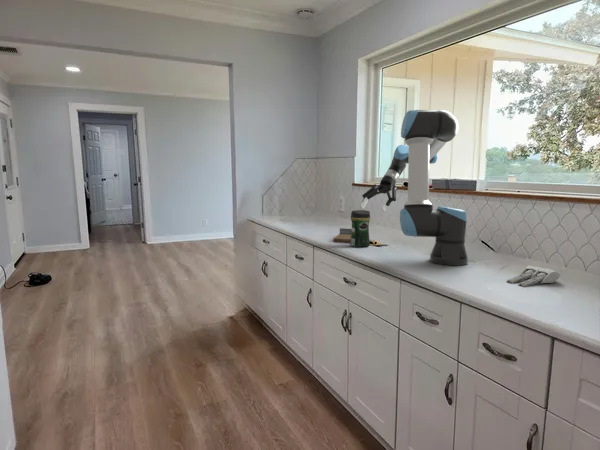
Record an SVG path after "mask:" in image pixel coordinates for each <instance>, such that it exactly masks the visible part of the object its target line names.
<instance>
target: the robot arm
mask: <svg viewBox="0 0 600 450" xmlns="http://www.w3.org/2000/svg"><path fill="white" fill-rule="evenodd" d="M458 131H459V122H458V120H457V118H456V117H455V116H454V114H452V113H451V112H449V111H447V110H444V109H436V110H435V109H412V110H411V109H410V110H408V111H406V112H405V114H404V117H403V119H402V123H401V129H400V137H401V138H402V139H404V143H405V144H406V145H405V144H400V145H398V146H397V147H396V148H395V150H394V152H393V156H392V159H391V163H390V165H389V167H388V169H387V171H386V172H385V173H384V175H383V177H382V179H381V180H380V182H379V183H380V184H378V185H377V184H375V183H374V184H373V185H372V187H370V188H369V189H368V190H367V191H365V193H363V194H362V195H361V196H362V198H363V199H362V201H361V203H360V206H359V207H360V210H365V208H366V205H367V204H368V203H369V200H370V199H371V198H373V197H375V196H376V195H380V194H384V195H385V194H386V196H387V198H386V199H385V201H384V202H383V204H382V205H381V207H380V209H381V211H382V212H383V213H384V212H386V210H387V208H388V207H390V206H391V203H392V202H396V201H397V190H398V188H397V186H396V183H397V182H398V180H399V179H400V177H401V175H402V173H403V172H404V170H405V169H406V167H407V166H408V167H407V168H408V170H407V172H408V173H407V202H405V203H404V206H403V208H401V209H400V212H399V224H400V229H401V231H402V233H403V235H404V236H406V237H414V238H416V237H421V238H422V237H423V238H424V237H425V238H428V237H429V238H435V242H434V244H433V247H432V250H431V253H430V254H429V255H430V256H429V260H430V262H432V263H436V264H439V265H440V264H441V265H447V266H465V265H468V263H469V257H468V252H467V249H466V245H465V243H466V242H465V241H466V230H467V222H468V220H467V216H468V215H467V212H466V211H465V210H464V209H461V208H460V209H459V208H454V207H448V206H441V205H438V206H437V208H436V209H433V208H434V206H433V203H432V202H431V201H430V165H431V164H435V163H437V160H438V156H439V155H438V153H439V152H440V151H441V149H442V148H443V147H444V146H445V145H446V144H447V143H448V142H451V141H452V140H453V139H454V138H455V137H456V135H457V134H458ZM390 192H391V193H390Z"/></svg>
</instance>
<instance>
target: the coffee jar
mask: <svg viewBox="0 0 600 450" xmlns="http://www.w3.org/2000/svg"><path fill="white" fill-rule="evenodd" d="M370 220H371V212H370V210H367V209H366V210H365V209H360V210H359V209H358V210H355V209H354V210H352V211H351V214H350V221H351V229H352V230H351V238H350V243H349V246H350V247H352V248H353V247H354V248H368V247H369V246H370V232H369V231H370V230H369V229H370V228H369V227H370V225H369V224H370Z"/></svg>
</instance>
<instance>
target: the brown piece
mask: <svg viewBox="0 0 600 450" xmlns="http://www.w3.org/2000/svg"><path fill="white" fill-rule="evenodd" d="M351 230H352V228H345V227H344V228H343V227H342V228H341V227H340V228H339V233H338V234H337V235H336V236H335V237H333V241H332V242H333V243H340V244H342V243H343V244H350V238H351Z"/></svg>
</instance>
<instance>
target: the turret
mask: <svg viewBox="0 0 600 450" xmlns="http://www.w3.org/2000/svg"><path fill="white" fill-rule="evenodd" d="M560 277H561V273H559V272H557V271H555V270H553V269H552V268H551V269H550V268H545V267H539V266H533V265H527V266H526V267H525V269H524V270H522V272H521V273H520V274H518V275H517V276H515V277H511V278H508V279H507V280H506V283H509V284H511V285H512V284H515V283H518V282H519V283H518V284H517V285H518V286H519V285H520V286H519V287H523V288H526V287H528V286H531V285H539V284H540V285H541V284H553V283H555V282H556V281H557V280H559V278H560ZM522 280H523V281H522Z"/></svg>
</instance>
